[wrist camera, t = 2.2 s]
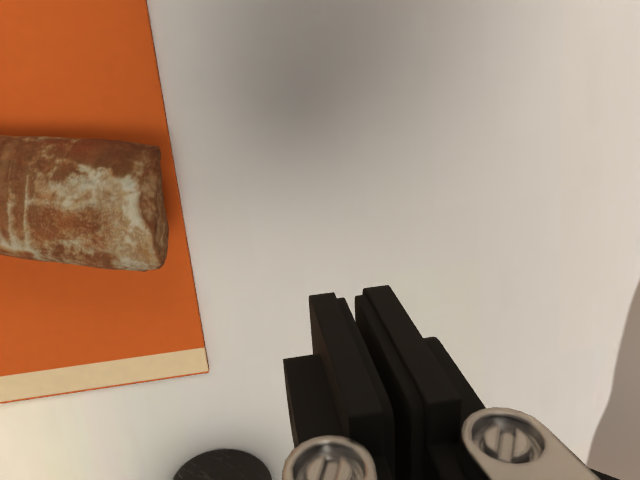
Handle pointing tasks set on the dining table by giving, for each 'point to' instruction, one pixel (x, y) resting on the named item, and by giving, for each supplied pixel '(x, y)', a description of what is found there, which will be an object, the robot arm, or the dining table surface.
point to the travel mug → (224, 467)
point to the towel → (75, 280)
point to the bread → (82, 202)
